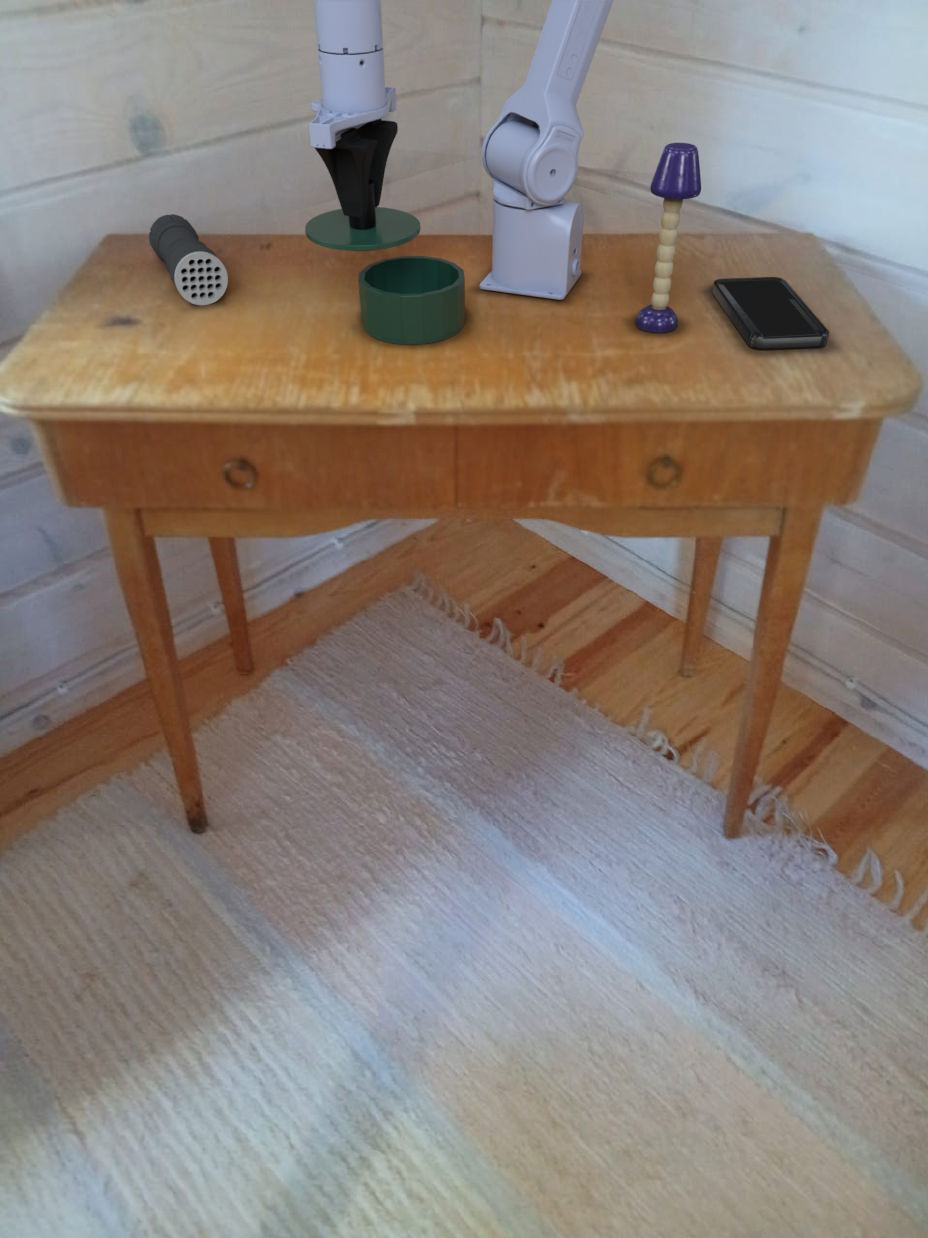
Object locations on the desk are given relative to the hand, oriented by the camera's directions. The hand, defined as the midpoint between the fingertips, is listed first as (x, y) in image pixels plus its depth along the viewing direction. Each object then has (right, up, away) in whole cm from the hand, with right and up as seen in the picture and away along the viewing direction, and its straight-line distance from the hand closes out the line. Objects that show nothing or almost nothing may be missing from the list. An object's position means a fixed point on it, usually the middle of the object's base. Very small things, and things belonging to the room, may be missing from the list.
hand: (361, 210), depth 92 cm
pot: (+5, -9, +5) cm, 12 cm away
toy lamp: (+29, -10, +5) cm, 31 cm away
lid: (0, -1, +1) cm, 2 cm away
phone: (+41, -9, +6) cm, 42 cm away
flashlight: (-20, -2, +14) cm, 25 cm away
